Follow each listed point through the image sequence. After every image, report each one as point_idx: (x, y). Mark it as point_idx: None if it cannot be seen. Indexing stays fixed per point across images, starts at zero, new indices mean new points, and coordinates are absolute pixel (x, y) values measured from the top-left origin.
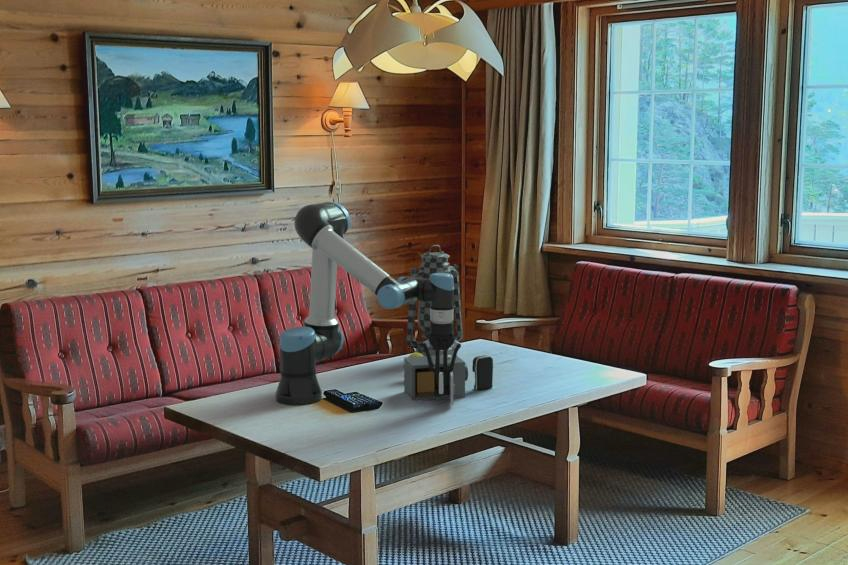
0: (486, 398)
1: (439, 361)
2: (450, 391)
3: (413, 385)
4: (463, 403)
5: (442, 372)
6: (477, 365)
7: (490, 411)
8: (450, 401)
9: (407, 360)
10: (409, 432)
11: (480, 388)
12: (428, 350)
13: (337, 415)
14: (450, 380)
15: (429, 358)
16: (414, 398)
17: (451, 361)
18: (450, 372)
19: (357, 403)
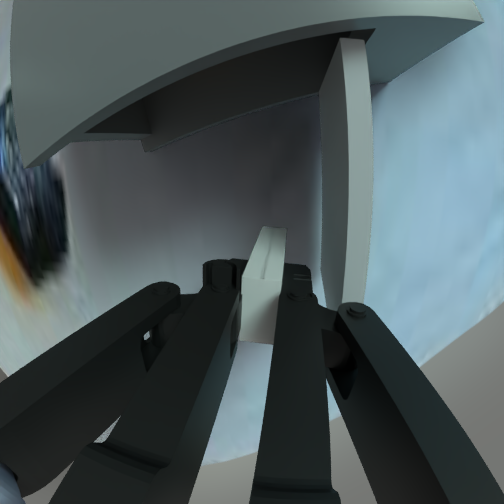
0: (470, 118)
1: (214, 399)
2: (327, 249)
3: (113, 137)
4: (381, 185)
5: (268, 283)
6: None
7: (453, 299)
8: (322, 234)
9: (11, 35)
10: None
11: None
12: (48, 477)
13: (26, 305)
14: (335, 276)
15: (99, 417)
16: (151, 149)
17: (357, 439)
18: (348, 251)
19: (21, 202)
